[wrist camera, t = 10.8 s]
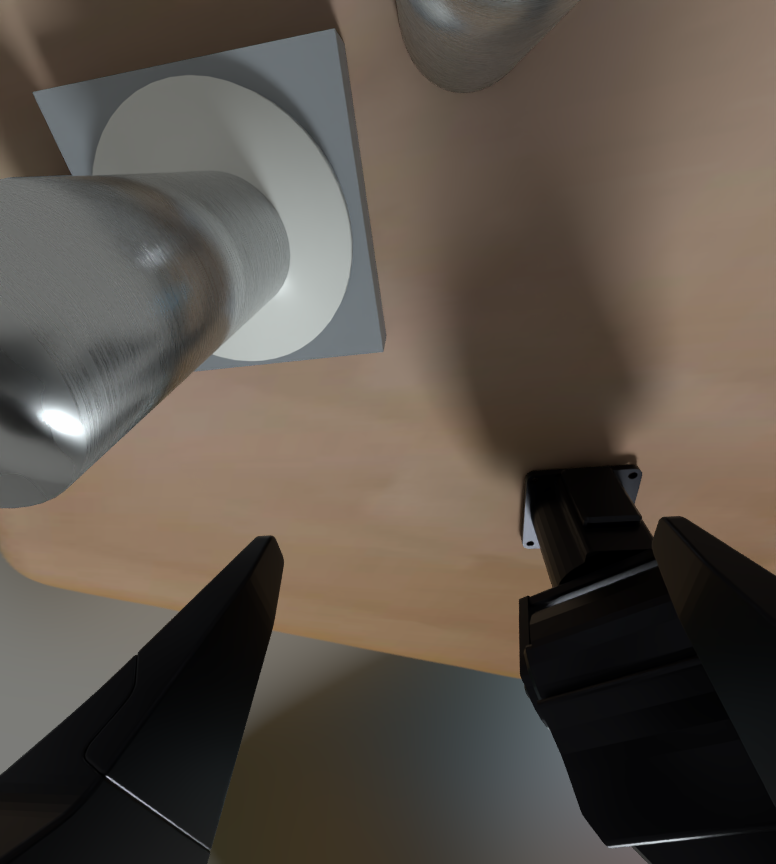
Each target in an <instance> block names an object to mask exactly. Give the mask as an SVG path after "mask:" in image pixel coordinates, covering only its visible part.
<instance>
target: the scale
mask: <svg viewBox="0 0 776 864" xmlns="http://www.w3.org/2000/svg"><path fill="white" fill-rule="evenodd" d="M32 93H33V95H34V97H35V99H36V101H37V103H38V105H39V107H40V109H41V112H42V114H43V116H44V118H45V120H46V122H47V124H48V126H49V128H50V130H51V132H52V135H53V137H54V139H55V141H56V143H57V145H58V147H59V149H60V151H61V153H62V156H63V158H64V160H65V162H66V164H67V166H68V168H69V170H70V172H71V174H72V175H63V176H35V177H10V178H5V179H15V178H40V177H64V176H89V175H113V174H138V173H163V172H187V171H222V172H227V173H230V174H233V175H236V176H238V177H240V178H242V179H244V180H246V181H248V182H249V183H251V184H252V185H253V186H255V187H256V188H257V189H258V190H259V191H261V192H262V193H263V194H264V195H265V196H266V197H267V199H268V200H269V201H270V202H271V203H272V205H273V206H274V208H275V209H276V210H277V212H278V214H279V216H280V218H281V219H282V222H283V224H284V226H285V229H286V232H287V236H288V240H289V245H290V266H289V271H288V275H287V278H286V280H285V282H284V284H283V286H282V288H281V289H280V291H279V292H278V293H277V294H276V295H275V296H274V297H273V298H272V299H271V300H270V301H269V302H268V303H267V304H266V305H265V306H264V307H263V308H262V309H260V310H259V311H258V312H257V313H256V314H255V315H254V316H253V317H252V318H251V319H250V320H249V321H248V322H246V323H245V324H244V325H243V326H242V327H241V328H240V329H239V330H238V331H237V332H236V333H235V334H234V335H232V336H231V337H230V338H229V339H228V340H227V341H226V342H225V343H224V344H223V345H222V346H221V347H219V348H218V349H217V350H216V351H215V352H214V353H213V354H212V355H211V356H210V357H209V358H208V359H207V360H205V361H204V362H203V363H202V364H201V365H200V366H199V367H198V368H197V369H196V370H195V371H204V370H213V369H223V368H232V367H242V366H252V365H261V364H271V363H280V362H290V361H300V360H309V359H319V358H328V357H338V356H348V355H357V354H367V353H377V352H384V346H385V341H386V330H385V323H384V316H383V309H382V302H381V295H380V288H379V281H378V275H377V268H376V261H375V254H374V247H373V240H372V233H371V226H370V219H369V212H368V205H367V198H366V191H365V184H364V177H363V170H362V163H361V156H360V149H359V142H358V135H357V128H356V121H355V114H354V107H353V100H352V93H351V86H350V79H349V72H348V65H347V58H346V51H345V44H344V42H343V41H342V39H341V37H340V36H339V34H338V33H337V31H336V29H335V28H333V29H328V30H324V31H319V32H314V33H310V34H305V35H300V36H295V37H291V38H286V39H281V40H277V41H272V42H267V43H262V44H258V45H253V46H248V47H243V48H239V49H234V50H229V51H225V52H220V53H215V54H210V55H206V56H201V57H196V58H191V59H187V60H182V61H177V62H173V63H168V64H163V65H158V66H154V67H149V68H144V69H139V70H135V71H130V72H125V73H121V74H116V75H111V76H106V77H102V78H97V79H92V80H87V81H83V82H78V83H73V84H69V85H64V86H59V87H54V88H50V89H45V90H40V91H35V92H32Z"/></svg>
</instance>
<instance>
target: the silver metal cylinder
mask: <svg viewBox="0 0 776 864" xmlns="http://www.w3.org/2000/svg"><path fill="white" fill-rule="evenodd" d="M289 266H290V245H289V240H288V236H287V232H286V229H285V226H284V224H283V222H282V219H281V218H280V216H279V214H278V212H277V210H276V209H275V208H274V206H273V205H272V203H271V202H270V201H269V200H268V199H267V197H266V196H265V195H264V194H263V193H262V192H261V191H259V190H258V189H257V188H256V187H255V186H253V185H252V184H251V183H249V182H248V181H246V180H244V179H242V178H240V177H238V176H236V175H233V174H230V173H227V172H222V171H187V172H163V173H138V174H113V175H89V176H64V177H40V178H15V179H0V508H19V507H28V506H33V505H36V504H40V503H44V502H46V501H48V500H50V499H53V498H55V497H56V496H58V495H59V494H61V493H62V492H64V491H65V490H66V489H67V488H68V487H69V486H70V485H72V484H73V483H74V482H75V481H76V480H77V479H78V478H79V477H80V476H81V475H82V474H83V473H84V472H86V471H87V470H88V469H89V468H90V467H91V466H92V465H93V464H94V463H95V462H96V461H97V460H99V459H100V458H101V457H102V456H103V455H104V454H105V453H106V452H107V451H108V450H109V449H110V448H111V447H113V446H114V445H115V444H116V443H117V442H118V441H119V440H120V439H121V438H122V437H123V436H124V435H126V434H127V433H128V432H129V431H130V430H131V429H132V428H133V427H134V426H135V425H136V424H137V423H138V422H140V421H141V420H142V419H143V418H144V417H145V416H146V415H147V414H148V413H149V412H150V411H151V410H153V409H154V408H155V407H156V406H157V405H158V404H159V403H160V402H161V401H162V400H163V399H164V398H165V397H167V396H168V395H169V394H170V393H171V392H172V391H173V390H174V389H175V388H176V387H177V386H178V385H180V384H181V383H182V382H183V381H184V380H185V379H186V378H187V377H188V376H189V375H190V374H191V373H192V372H194V371H195V370H196V369H197V368H198V367H199V366H200V365H201V364H202V363H203V362H204V361H205V360H207V359H208V358H209V357H210V356H211V355H212V354H213V353H214V352H215V351H216V350H217V349H218V348H219V347H221V346H222V345H223V344H224V343H225V342H226V341H227V340H228V339H229V338H230V337H231V336H232V335H234V334H235V333H236V332H237V331H238V330H239V329H240V328H241V327H242V326H243V325H244V324H245V323H246V322H248V321H249V320H250V319H251V318H252V317H253V316H254V315H255V314H256V313H257V312H258V311H259V310H260V309H262V308H263V307H264V306H265V305H266V304H267V303H268V302H269V301H270V300H271V299H272V298H273V297H274V296H275V295H276V294H277V293H278V292H279V291H280V289H281V288H282V286H283V284H284V282H285V280H286V278H287V275H288V271H289Z"/></svg>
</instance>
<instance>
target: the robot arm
mask: <svg viewBox="0 0 776 864" xmlns="http://www.w3.org/2000/svg"><path fill="white" fill-rule="evenodd" d="M633 472H634V473H633ZM630 473H633V474H630ZM629 474H630V475H629ZM534 478H538V479H536V480H532V479H534ZM641 478H642V472H641V470H640V469H639V467H638V466H636V465H619V466H603V467H587V468H571V469H555V470H539V471H531V472H529V473H528V474H527V475H526V477H525V491H524V507H523V523H522V538H521V540H522V544H523V546H524V547H525V548H528V549H534V548H540V549H541V552H542V556H543V559H544V562H545V565H546V568H547V572H548V575H549V578H550V581H551V584H552V587H553V588H551V589H548V590H546V591H543V592H541V593H538V594H536V595H533V596H531V597H530V596H526V597H523V598H521V599H519V647H520V676H521V679H522V681H523V683H524V687H525V691H526V694H527V696H528V697H529V698H530V700H531V702H532V703H533V706H534V708H535V710H536V712H537V713H538V715H539V717H540V718H541V720H542V721H543V723H544V724H545V725H546V727H547V728H548V729H549V730H550V731H551V733H552V735H553V738H554V740H555V742H556V744H557V747H558V749H559V751H560V753H561V756H562V759H563V761H564V764H565V767H566V769H567V772H568V775H569V778H570V781H571V783H572V787H573V790H574V792H575V795H576V798H577V801H578V804H579V807H580V810H581V812H582V814H583V816H584V818H585V819H586V820H587V822H588V823H589V824H590V826H591V827H592V828H593V830H594V831H595V832H596V834H597V835H598V836H599V837H600V839H601V840H602V842H603V843H604V844H605V845H606V846H607V847H609V848H620V847H628V846H632V847H633V849H634V850H635V851H636V852H637V853H638V854H639V855H640V856H641V857H642V858H643V859H644V860H645V861H646V862H647V863H648V864H776V576H775V575H774V574H772V573H771V572H769V571H768V570H766V569H764V568H763V567H761V566H760V565H758V564H757V563H755V562H754V561H752V560H750V559H749V558H747V557H746V556H744V555H743V554H741V553H739V552H738V551H736V550H735V549H733V548H732V547H730V546H728V545H727V544H725V543H724V542H722V541H721V540H719V539H717V538H716V537H714V536H713V535H711V534H710V533H708V532H706V531H705V530H703V529H702V528H700V527H699V526H697V525H696V524H694V523H692V522H691V521H689V520H688V519H686V518H684V517H681V516H671V517H662V518H661V519H660V520H659V522H658V525H657V528H656V531H655V534H654V537H653V536H652V534H651V533H650V531H649V529H648V528H647V526H646V525H645V523H644V521H643V520H642V516H641V514H640V513H639V511H638V510H637V508H636V506H635V505H634V504H635V500H636V496H637V493H638V489H639V485H640V481H641ZM528 541H530V542H528ZM283 567H284V559H283V555H282V553H281V550H280V548H279V546H278V543H277V541H276V539H275V537H274V536H271V535H270V536H258V537H256V538H255V539H254V540H253V541H252V542H251V543H250V544H249V545H248V546H247V547H245V548H244V549H243V550H242V551H241V552H240V553H239V554H238V555H237V556H236V557H235V558H234V559H233V560H232V561H231V562H230V563H229V564H228V565H227V566H226V567H225V568H224V569H223V570H222V571H221V572H220V573H219V574H218V575H217V576H216V577H215V578H214V579H213V580H212V581H211V582H210V583H209V584H207V585H206V586H205V587H204V588H203V589H202V590H201V591H200V592H199V593H198V594H197V595H196V596H195V597H194V598H193V599H192V600H191V601H190V602H189V603H188V604H187V605H186V606H185V607H184V608H183V609H182V610H181V611H180V612H179V613H178V614H177V615H176V616H175V617H174V618H173V619H172V620H171V621H169V622H168V623H167V625H165V626H164V627H163V628H162V629H161V630H160V631H159V632H158V633H157V634H156V635H155V636H154V637H153V638H152V639H151V640H150V641H149V642H148V643H147V644H146V645H145V646H144V647H143V648H142V649H141V650H140V651H139V652H138V655H135V656H133V657H132V659H131V660H129V661H128V662H127V663H126V664H125V665H124V666H123V667H122V668H121V669H120V670H119V671H118V672H117V673H116V674H115V675H114V676H113V677H112V678H111V679H110V680H108V681H107V682H106V683H105V684H104V685H103V686H102V687H101V688H100V689H99V690H98V691H97V692H96V693H95V694H94V695H92V696H91V697H90V698H89V699H88V700H87V701H85V702H84V703H83V704H82V705H81V706H80V707H79V708H78V709H76V710H75V711H74V712H73V713H72V714H71V715H70V716H68V717H67V718H66V719H65V720H64V721H63V722H62V723H61V724H59V725H58V726H57V727H56V728H55V729H53V730H52V731H51V732H50V733H49V734H48V735H46V736H45V737H44V738H43V739H42V740H41V741H39V742H38V743H37V744H36V745H35V746H34V747H33V748H31V749H30V750H29V751H28V752H27V753H26V754H25V755H23V756H22V757H21V758H20V759H18V760H17V761H16V762H15V763H14V764H13V765H12V766H10V767H9V768H8V769H7V770H6V771H5V772H3V773H2V774H1V775H0V864H207V863H208V859H209V855H210V851H209V850H211V848H212V844H213V840H214V837H215V833H216V829H217V826H218V822H219V819H220V815H221V812H222V808H223V805H224V801H225V797H226V794H227V790H228V787H229V783H230V780H231V776H232V772H233V769H234V765H235V762H236V758H237V755H238V751H239V747H240V744H241V740H242V737H243V733H244V730H245V726H246V722H247V719H248V715H249V712H250V708H251V704H252V701H253V697H254V694H255V690H256V686H257V683H258V680H259V675H260V672H261V669H262V665H263V662H264V658H265V654H266V651H267V647H268V644H269V640H270V636H271V633H272V629H273V625H274V620H275V615H276V609H277V603H278V597H279V591H280V585H281V579H282V573H283Z"/></svg>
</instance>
